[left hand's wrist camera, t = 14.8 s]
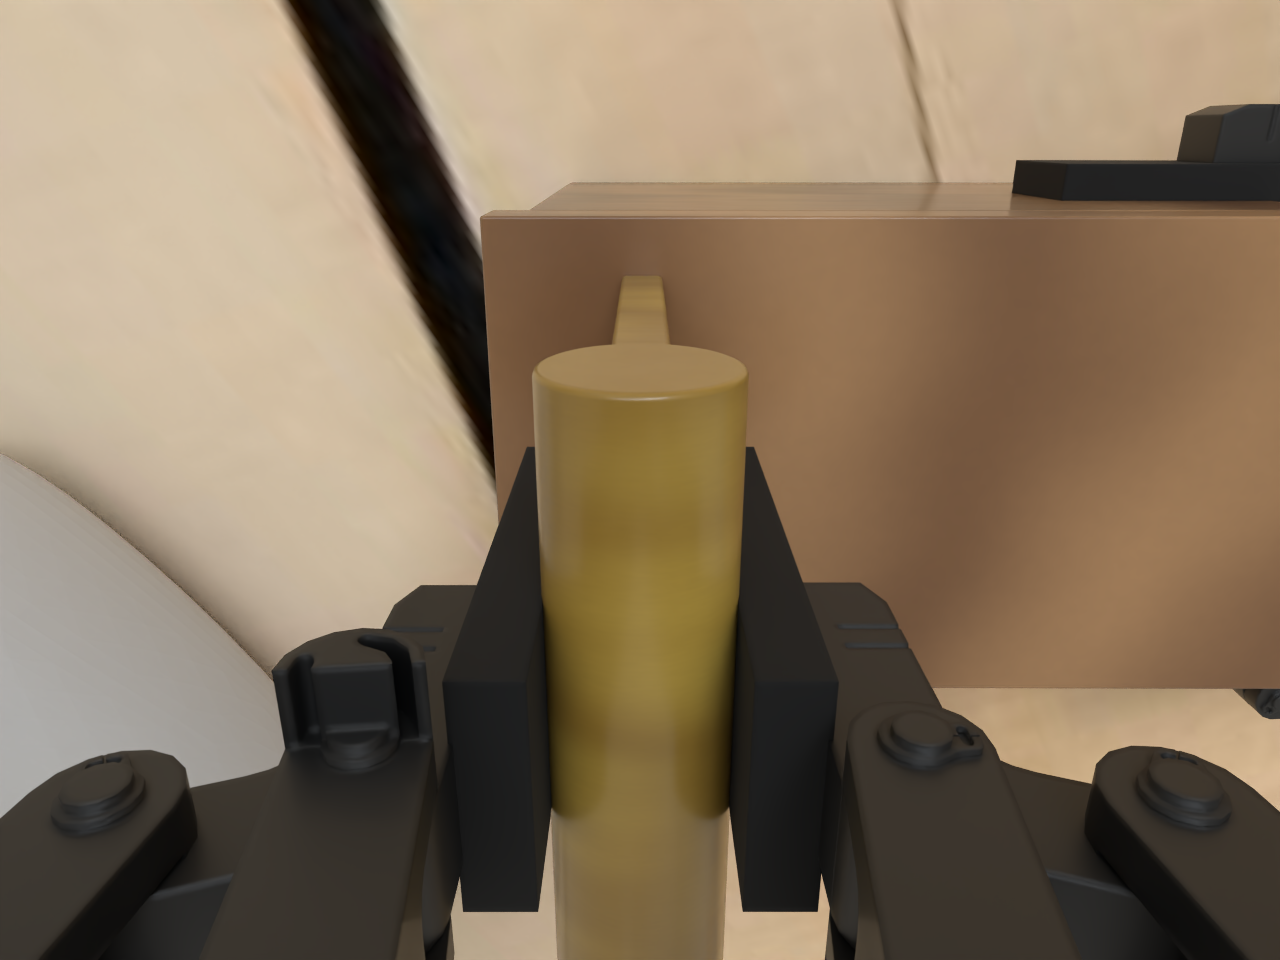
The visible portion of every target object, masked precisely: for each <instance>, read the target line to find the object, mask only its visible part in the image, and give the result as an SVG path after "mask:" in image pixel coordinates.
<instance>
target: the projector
mask: <svg viewBox="0 0 1280 960" xmlns="http://www.w3.org/2000/svg"><path fill="white" fill-rule="evenodd" d="M132 750H154V751H157V752H161V753H165V754H169V755H172V756H174V757H175V758H176V759H177V760H178V761H179V762H180V763H181V764H182V765H183V766H184V767H185V768H186V772H187V776H188V781H189V785H190V788H191V787H196V786H201V785H206V784H210V783H215V782H220V781H225V780H229V779H234V778H239V777H244V776H247V775H251V774H255V773H258V772H262V771H265V770H269V769H271V768H274V767H276V766H278V765H279V762H280V760H281V758H282V755H283V753H284V750H285V745H284V739H283V734H282V728H281V722H280V716H279V710H278V704H277V698H276V693H275V687H274V682H273V681H272V680H271V679H270V678H269V677H268V676H267V674H266V673H265V672H264V671H263V670H262V669H261V668H260V667H259V666H258V665H257V664H256V662H255V661H254V660H253V659H252V658H251V657H250V656H249V655H248V654H247V653H246V652H245V651H244V650H243V649H242V648H241V647H240V646H239V645H238V644H237V643H236V642H235V641H234V640H233V639H232V638H231V637H230V636H229V635H228V634H227V633H226V632H225V631H224V629H223V628H221V627H220V626H219V625H218V624H217V623H216V622H215V621H214V620H213V619H212V618H211V617H210V616H209V615H208V614H207V613H206V612H205V611H204V610H203V609H202V608H201V607H200V606H199V605H197V604H196V603H195V602H194V601H193V600H192V599H191V598H190V597H189V596H188V595H187V594H186V593H185V592H184V591H183V590H182V589H181V588H179V587H178V586H177V585H176V584H175V583H174V582H173V581H172V580H170V579H169V578H168V577H167V576H166V575H165V574H164V573H163V572H162V571H160V570H159V569H158V568H157V567H156V566H155V565H154V564H153V563H152V562H150V561H149V560H148V559H147V558H146V557H145V556H144V555H142V554H141V553H140V552H139V551H138V550H136V549H135V548H134V547H133V546H132V545H131V544H129V543H128V542H127V541H126V540H125V539H123V538H122V537H121V536H120V535H119V534H117V533H116V532H115V531H114V530H113V529H111V528H110V527H109V526H108V525H107V524H105V523H104V522H103V521H102V520H100V519H99V518H98V517H96V516H95V515H94V514H93V513H91V512H90V511H89V510H87V509H86V508H85V507H84V506H82V505H81V504H80V503H78V502H77V501H76V500H74V499H73V498H72V497H71V496H69V495H68V494H66V493H65V492H63V491H62V490H60V489H59V488H57V487H56V486H55V485H53V484H52V483H50V482H49V481H47V480H46V479H44V478H43V477H41V476H40V475H39V474H37V473H35V472H34V471H32V470H30V469H28V468H27V467H25V466H23V465H21V464H20V463H18V462H16V461H14V460H13V459H11V458H9V457H7V456H5V455H3V454H1V453H0V818H1V817H2V816H3V815H5V814H6V813H7V812H8V811H9V810H10V809H11V808H12V807H14V806H15V805H16V804H17V803H18V802H19V801H20V800H21V799H23V798H24V797H25V796H26V795H27V794H28V793H29V792H31V791H32V790H34V789H35V788H36V787H38V786H39V785H41V784H42V783H44V782H45V781H46V780H48V779H49V778H51V777H52V776H54V775H55V774H56V773H58V772H61V771H63V770H65V769H67V768H70V767H72V766H74V765H76V764H79V763H81V762H83V761H85V760H87V759H90V758H94V757H97V756H100V755H107V754H109V753H115V752H119V751H132Z"/></svg>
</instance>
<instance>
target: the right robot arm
mask: <svg viewBox="0 0 1280 960" xmlns="http://www.w3.org/2000/svg"><path fill="white" fill-rule="evenodd" d="M1012 193H1015V194H1021V195H1028V196H1034V197H1041V198H1047V199H1053V200H1060V201H1277V202H1280V104H1245V105H1225V106H1210V107H1207V108H1205V109H1202V110H1199V111H1197V112H1194V113H1192V114H1189V115H1187V116H1186V118H1185V123H1184V128H1183V133H1182V137H1181V142H1180V147H1179V152H1178V157H1177V161H1129V160H1016V167H1015V174H1014V181H1013V188H1012ZM1233 690H1234V691H1235V692H1236V693H1238V694H1239V695H1240V696H1241V697H1242V698H1243V699H1244V700H1245V701H1246V702H1247V703H1248V704H1250V705H1251V706H1252V707H1253V708H1254V709H1255V710H1256V711H1257V712H1258V713H1259V714H1260V715H1262V716H1263V717H1265V718H1268V719H1280V689H1233Z"/></svg>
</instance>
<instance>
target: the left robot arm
mask: <svg viewBox="0 0 1280 960" xmlns="http://www.w3.org/2000/svg"><path fill="white" fill-rule="evenodd" d="M908 645H909V643H908V642H907V640H906V638H905V636H904V634H903V632H902V630H901V629H899V624H898V623H897V621H896V619H895V617H894V615H893V613H892V611H891V609H890V607H889V605H888V603H887V602H886V601H885V600H883V599H882V598H881V597H879V596H878V595H877V594H875V593H874V592H873V591H871V590H870V589H869V588H867V587H866V586H864V585H863V584H862V583H860V582H803V581H802V578H801V575H800V573H799V570H798V567H797V564H796V562H795V559H794V556H793V553H792V550H791V548H790V545H789V542H788V539H787V537H786V534H785V531H784V528H783V526H782V523H781V520H780V517H779V515H778V512H777V509H776V506H775V503H774V501H773V498H772V495H771V492H770V490H769V487H768V484H767V481H766V479H765V476H764V473H763V470H762V468H761V465H760V462H759V459H758V456H757V454H756V451H755V448H754V447H746V455H745V477H744V499H743V522H742V544H741V567H740V589H739V599H738V615H737V638H736V661H735V683H734V706H733V729H732V751H731V774H730V796H729V810H730V818H731V825H732V833H733V841H734V848H735V856H736V864H737V871H738V879H739V886H740V894H741V902H742V909H743V912H818V903H819V892H820V881H821V873H822V877H823V881H824V886H825V890H826V894H827V898H828V902H829V906H830V913H829V924H828V934H827V944H826V954H825V960H1280V812H1279V811H1278V810H1277V809H1276V808H1275V807H1274V806H1273V805H1271V804H1270V803H1269V802H1268V801H1267V800H1266V799H1265V798H1263V797H1262V796H1261V795H1260V794H1259V793H1258V792H1257V791H1255V790H1254V789H1253V788H1252V787H1250V786H1249V785H1248V784H1246V783H1245V782H1243V781H1242V780H1240V779H1239V778H1237V777H1236V776H1235V775H1233V774H1232V773H1230V772H1229V771H1227V770H1226V769H1224V768H1222V767H1219V766H1217V765H1215V764H1213V763H1210V762H1208V761H1206V760H1203V759H1201V758H1199V757H1197V756H1195V755H1192V754H1188V753H1185V752H1182V751H1175V750H1173V749H1167V748H1163V747H1149V746H1129V747H1125V748H1121V749H1117V750H1113V751H1110V752H1108V753H1107V754H1106V755H1105V756H1104V757H1103V758H1102V759H1101V760H1100V761H1099V762H1098V763H1097V764H1096V768H1095V772H1094V777H1093V781H1092V784H1089V783H1084V782H1080V781H1075V780H1070V779H1065V778H1061V777H1056V776H1051V775H1046V774H1042V773H1037V772H1033V771H1030V770H1026V769H1022V768H1019V767H1015V766H1012V765H1010V764H1007V763H1005V762H1003V761H1000V759H999V756H998V754H997V751H996V749H995V747H994V746H993V744H992V743H991V741H990V740H989V739H988V737H987V736H986V735H985V733H984V732H983V730H981V729H980V728H978V727H977V726H976V725H974V724H973V723H971V722H970V721H969V720H967V719H966V718H964V717H963V716H961V715H959V714H956V713H954V712H951V711H949V710H946V709H944V708H942V706H941V704H940V702H939V701H938V699H937V697H936V695H935V693H934V691H933V689H932V687H931V685H930V683H929V681H928V680H927V678H926V676H925V674H924V672H923V670H922V668H921V666H920V664H919V662H918V661H917V659H916V657H915V655H914V653H913V651H912V649H911V648H909V646H908ZM272 675H273V681H274V687H275V693H276V698H277V704H278V710H279V716H280V722H281V728H282V734H283V739H284V745H285V750H284V753H283V755H282V758H281V760H280V762H279V765H278V766H276V767H274V768H271V769H269V770H265V771H262V772H258V773H255V774H251V775H247V776H244V777H239V778H234V779H229V780H225V781H220V782H215V783H210V784H206V785H201V786H196V787H191V788H190V785H189V781H188V776H187V772H186V768H185V767H184V766H183V765H182V764H181V763H180V762H179V761H178V760H177V759H176V758H175V757H174V756H172V755H169V754H165V753H161V752H157V751H154V750H132V751H119V752H115V753H109V754H107V755H100V756H97V757H94V758H90V759H87V760H85V761H83V762H81V763H79V764H76V765H74V766H72V767H70V768H67V769H65V770H63V771H61V772H58V773H56V774H55V775H54V776H52V777H51V778H49V779H48V780H46V781H45V782H44V783H42V784H41V785H39V786H38V787H36V788H35V789H34V790H32V791H31V792H29V793H28V794H27V795H26V796H25V797H24V798H23V799H21V800H20V801H19V802H18V803H17V804H16V805H15V806H14V807H12V808H11V809H10V810H9V811H8V812H7V813H6V814H5V815H3V816H2V817H1V818H0V960H454V944H453V934H452V924H451V910H452V906H453V902H454V898H455V894H456V890H457V886H458V882H459V877H460V883H461V893H462V904H463V912H538V909H539V901H540V893H541V886H542V878H543V870H544V863H545V855H546V847H547V840H548V832H549V824H550V817H551V809H552V804H551V781H550V758H549V735H548V712H547V689H546V666H545V643H544V620H543V600H542V595H541V572H540V549H539V526H538V503H537V481H536V458H535V447H527V448H526V451H525V453H524V456H523V459H522V462H521V464H520V467H519V470H518V473H517V476H516V478H515V481H514V484H513V487H512V489H511V492H510V495H509V498H508V500H507V503H506V506H505V509H504V512H503V514H502V517H501V520H500V523H499V525H498V528H497V531H496V534H495V536H494V539H493V542H492V545H491V548H490V550H489V553H488V556H487V559H486V561H485V564H484V567H483V570H482V572H481V575H480V578H479V581H478V584H477V585H421V586H419V587H418V588H417V589H415V590H414V591H413V592H411V593H410V594H409V595H407V596H406V597H404V598H403V599H402V600H400V601H399V602H398V603H396V604H395V605H394V607H393V609H392V611H391V613H390V615H389V617H388V618H387V620H386V622H385V624H384V626H383V629H370V628H360V629H354V630H347V631H340V632H334V633H331V634H328V635H325V636H322V637H319V638H316V639H313V640H310V641H307V642H306V643H304V644H302V645H301V646H299V647H297V648H296V649H294V650H292V651H291V652H289V653H287V654H286V655H285V656H284V657H283V658H282V659H281V660H280V662H279V663H278V664H277V665H276V666H275V668H274V669H273V670H272Z"/></svg>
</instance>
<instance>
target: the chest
mask: <svg viewBox="0 0 1280 960" xmlns="http://www.w3.org/2000/svg"><path fill="white" fill-rule="evenodd" d="M1012 188H1013V183H570V184H569V185H567V186H565V187H564V188H562V189H561V190H559V191H558V192H556V193H555V194H553V195H552V196H550V197H549V198H547V199H546V200H544V201H543V202H541V203H540V204H538V205H537V206H535V207H534V208H532V209H531V210H609V211H1280V202H1277V201H1060V200H1053V199H1047V198H1041V197H1034V196H1028V195H1021V194H1015V193H1012Z"/></svg>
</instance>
